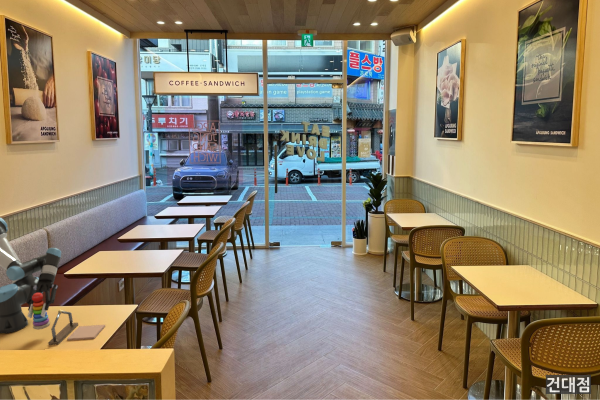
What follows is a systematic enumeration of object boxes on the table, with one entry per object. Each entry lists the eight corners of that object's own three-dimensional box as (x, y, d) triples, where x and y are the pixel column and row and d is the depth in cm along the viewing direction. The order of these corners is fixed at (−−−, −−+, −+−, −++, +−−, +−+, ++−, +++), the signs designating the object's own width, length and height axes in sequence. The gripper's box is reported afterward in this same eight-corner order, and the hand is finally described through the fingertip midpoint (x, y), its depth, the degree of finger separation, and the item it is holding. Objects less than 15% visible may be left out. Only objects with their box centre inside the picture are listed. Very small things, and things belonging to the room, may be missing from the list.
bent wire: (69, 325, 257) (65, 302, 254) (78, 325, 257) (74, 301, 254) (48, 345, 235) (44, 319, 232) (58, 344, 235) (54, 319, 232)
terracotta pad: (67, 340, 239) (67, 338, 239) (79, 328, 253) (79, 326, 253) (94, 338, 239) (94, 336, 239) (105, 326, 253) (105, 324, 253)
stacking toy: (43, 330, 240) (36, 296, 236) (29, 330, 241) (23, 296, 238) (53, 323, 247) (48, 290, 244) (40, 322, 249) (34, 290, 245)
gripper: (68, 277, 255) (57, 318, 242) (33, 279, 255) (21, 320, 242) (62, 271, 249) (51, 313, 236) (26, 273, 249) (13, 315, 236)
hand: (36, 316), depth 239 cm, fingers closed on stacking toy, 6 cm apart
